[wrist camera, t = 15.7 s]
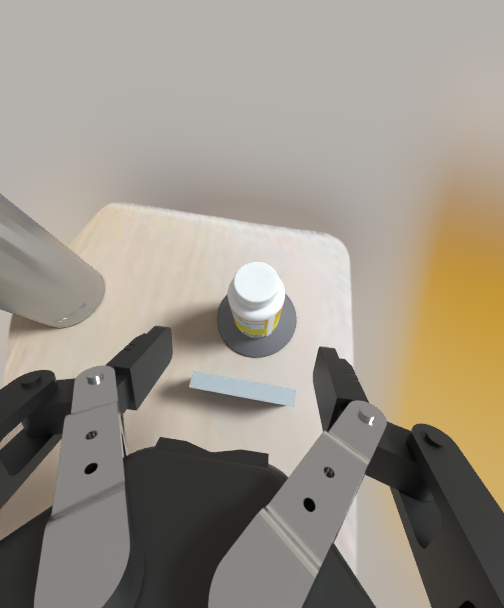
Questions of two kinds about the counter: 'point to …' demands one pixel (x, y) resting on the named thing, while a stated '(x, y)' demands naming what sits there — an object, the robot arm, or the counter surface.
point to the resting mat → (262, 345)
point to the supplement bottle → (256, 299)
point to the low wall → (243, 388)
